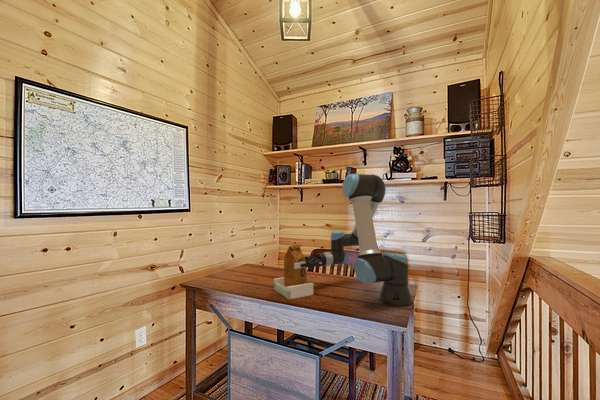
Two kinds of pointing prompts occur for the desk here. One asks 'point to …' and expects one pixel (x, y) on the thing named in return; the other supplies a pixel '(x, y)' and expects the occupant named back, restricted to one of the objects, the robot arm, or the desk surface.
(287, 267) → the coffee package
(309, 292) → the tray
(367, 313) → the desk surface
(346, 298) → the desk surface
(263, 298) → the desk surface
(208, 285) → the desk surface
